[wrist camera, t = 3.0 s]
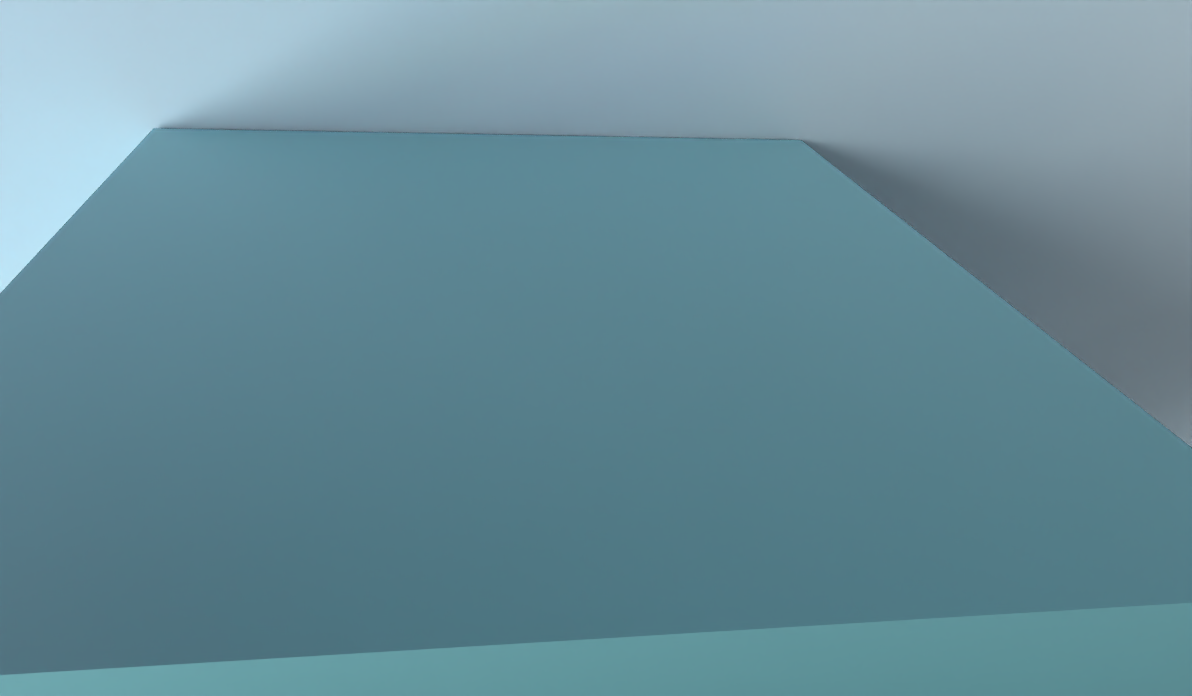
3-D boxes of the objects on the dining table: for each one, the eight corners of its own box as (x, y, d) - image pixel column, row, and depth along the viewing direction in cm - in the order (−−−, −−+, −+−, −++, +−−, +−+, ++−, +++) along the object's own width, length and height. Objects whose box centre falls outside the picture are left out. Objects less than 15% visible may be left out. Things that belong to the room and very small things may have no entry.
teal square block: (153, 129, 12) (-376, 698, 4) (800, 140, 13) (1376, 592, 5) (221, 652, 15) (7, 1523, 7) (731, 621, 16) (1018, 1339, 8)
